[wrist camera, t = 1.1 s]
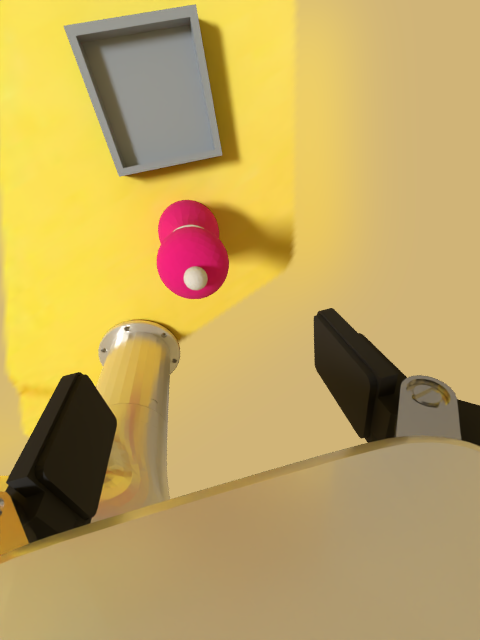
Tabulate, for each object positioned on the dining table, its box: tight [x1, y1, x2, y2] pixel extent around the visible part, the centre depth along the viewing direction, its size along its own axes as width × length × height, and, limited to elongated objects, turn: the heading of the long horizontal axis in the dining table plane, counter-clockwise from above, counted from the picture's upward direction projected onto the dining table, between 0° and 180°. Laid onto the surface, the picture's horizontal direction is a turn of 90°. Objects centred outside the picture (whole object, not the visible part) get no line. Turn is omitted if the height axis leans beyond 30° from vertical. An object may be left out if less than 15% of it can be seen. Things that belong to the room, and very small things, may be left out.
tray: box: [64, 4, 222, 177], centre depth 28 cm, size 12×12×2 cm
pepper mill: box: [157, 200, 229, 299], centre depth 28 cm, size 7×7×20 cm
